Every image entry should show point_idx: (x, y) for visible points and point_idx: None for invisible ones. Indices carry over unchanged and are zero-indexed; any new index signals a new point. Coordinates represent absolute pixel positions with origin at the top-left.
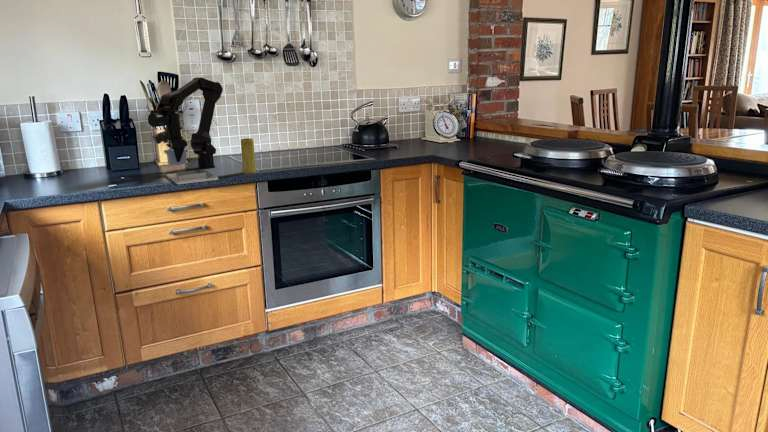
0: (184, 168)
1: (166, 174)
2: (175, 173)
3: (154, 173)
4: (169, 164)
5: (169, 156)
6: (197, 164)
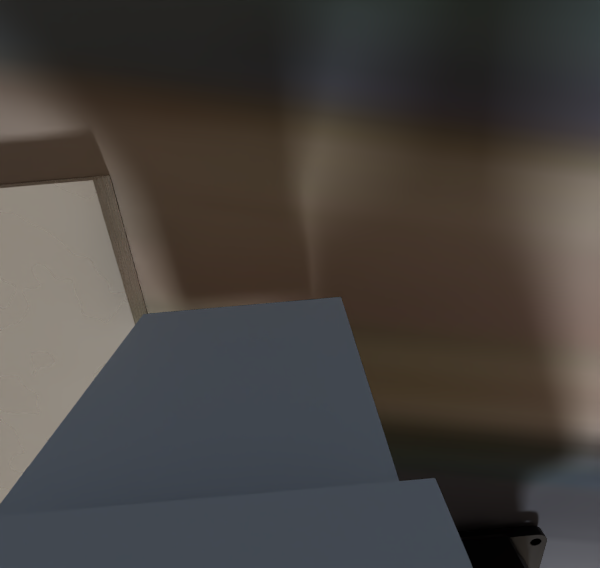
0: (581, 425)
1: (81, 182)
2: (121, 307)
3: (526, 30)
4: (191, 313)
5: (24, 485)
6: (503, 558)
